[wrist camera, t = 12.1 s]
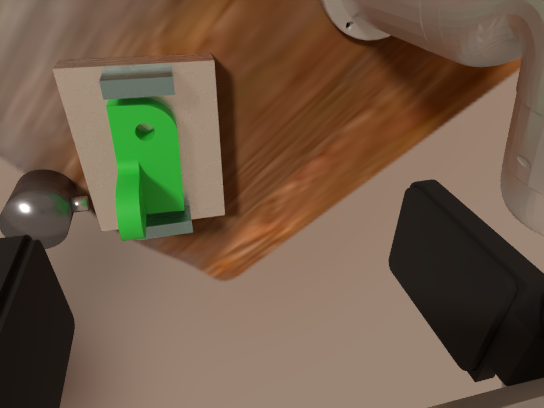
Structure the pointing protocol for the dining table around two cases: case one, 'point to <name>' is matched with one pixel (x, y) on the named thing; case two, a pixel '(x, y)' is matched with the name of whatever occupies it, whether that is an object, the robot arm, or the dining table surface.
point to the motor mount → (100, 150)
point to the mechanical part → (144, 163)
